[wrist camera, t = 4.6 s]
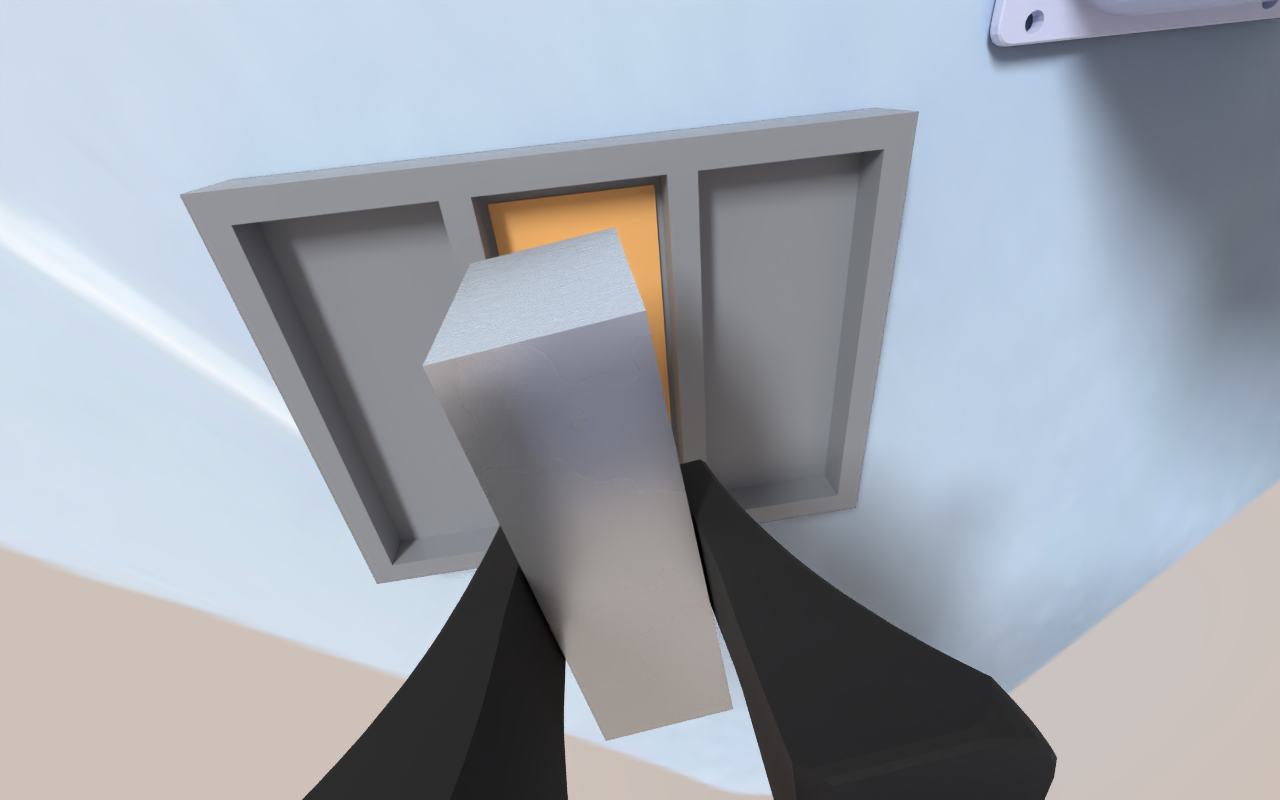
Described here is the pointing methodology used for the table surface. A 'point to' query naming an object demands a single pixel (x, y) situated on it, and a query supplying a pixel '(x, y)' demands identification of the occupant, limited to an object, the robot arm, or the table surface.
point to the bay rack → (665, 277)
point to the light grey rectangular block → (584, 473)
